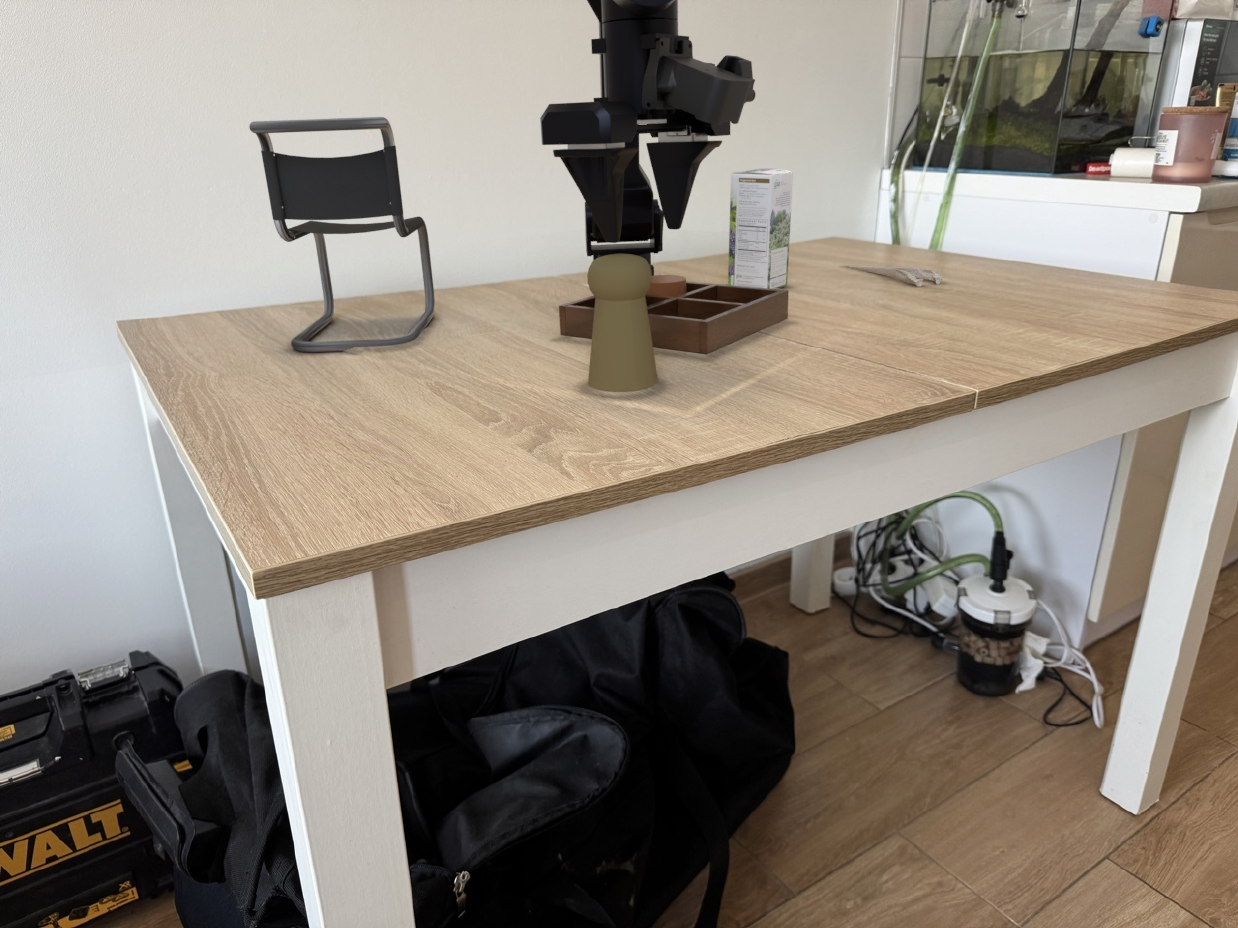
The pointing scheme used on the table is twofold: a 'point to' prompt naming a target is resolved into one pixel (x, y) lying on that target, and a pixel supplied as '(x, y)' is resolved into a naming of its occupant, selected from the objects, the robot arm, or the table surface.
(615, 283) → the olive peg figure
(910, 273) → the grey long forked piece
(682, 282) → the tin
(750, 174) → the syrup box
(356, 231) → the chair
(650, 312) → the tray
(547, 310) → the table surface
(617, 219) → the robot arm
